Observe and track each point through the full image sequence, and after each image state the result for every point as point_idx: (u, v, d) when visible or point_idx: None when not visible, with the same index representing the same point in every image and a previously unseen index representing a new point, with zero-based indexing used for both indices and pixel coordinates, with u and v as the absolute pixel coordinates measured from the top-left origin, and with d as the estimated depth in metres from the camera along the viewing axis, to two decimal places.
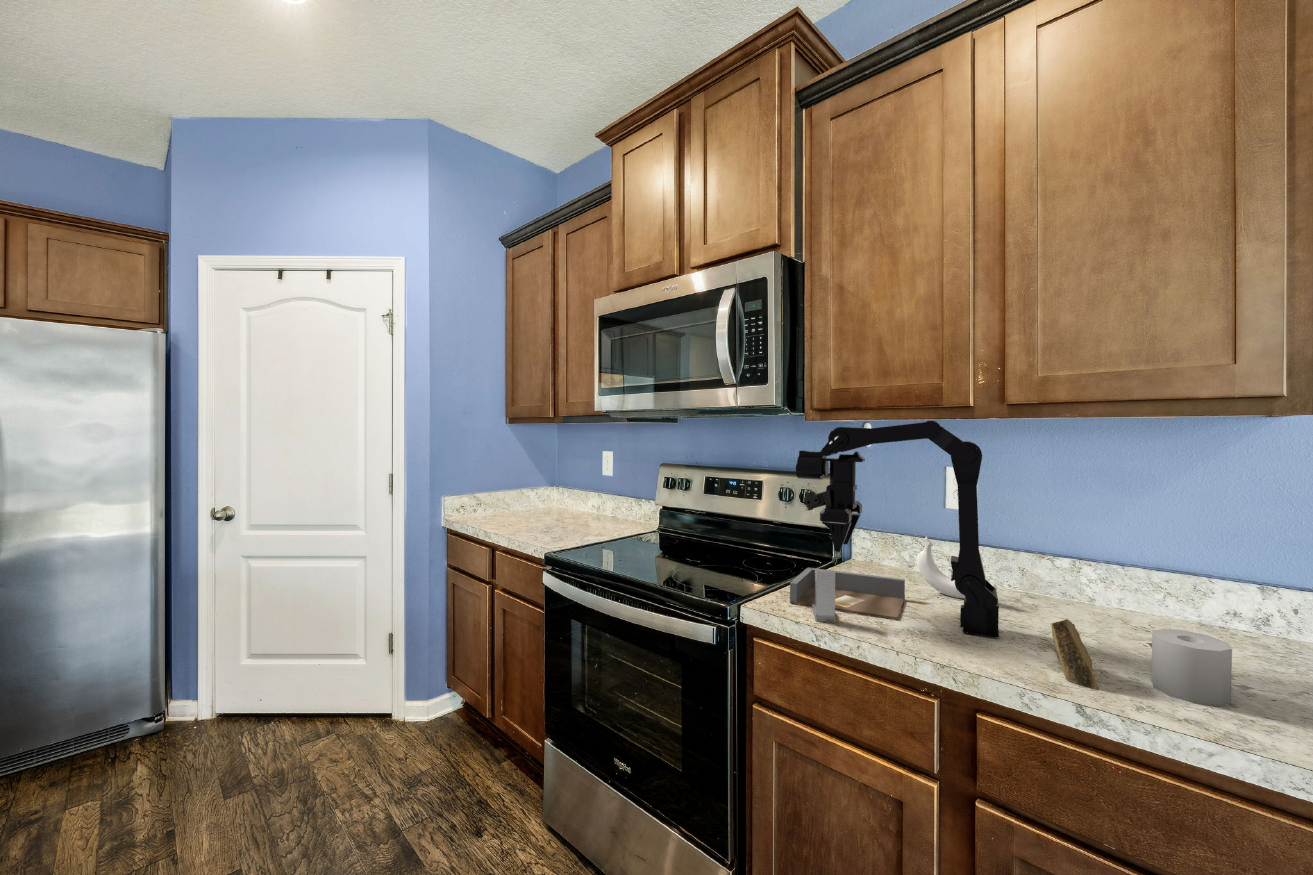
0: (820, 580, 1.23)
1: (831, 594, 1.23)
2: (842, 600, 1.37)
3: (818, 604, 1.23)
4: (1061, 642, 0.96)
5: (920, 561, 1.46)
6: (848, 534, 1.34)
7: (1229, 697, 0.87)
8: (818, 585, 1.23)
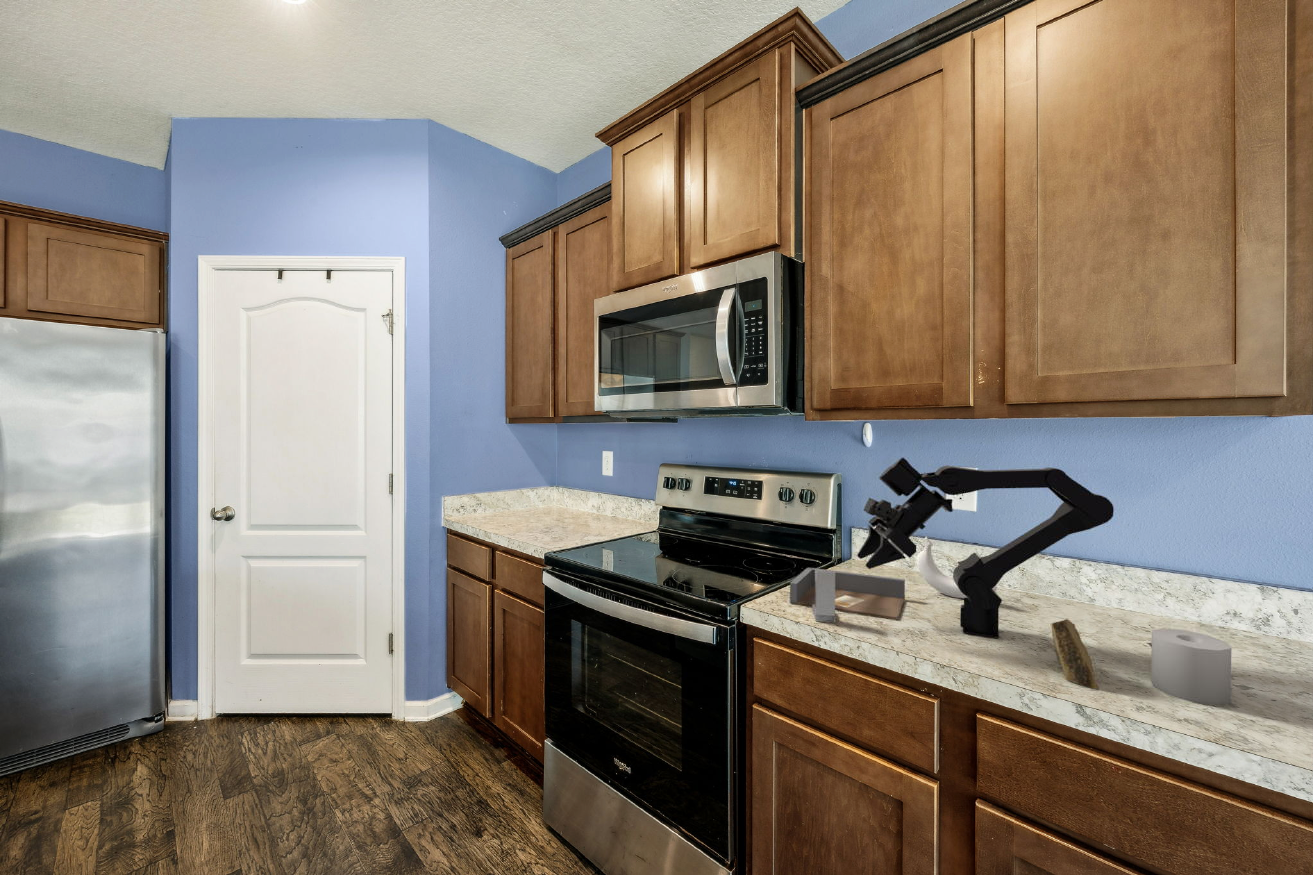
0: (820, 580, 1.23)
1: (831, 594, 1.23)
2: (842, 600, 1.37)
3: (818, 604, 1.23)
4: (1061, 642, 0.96)
5: (920, 561, 1.46)
6: (868, 552, 1.27)
7: (1228, 696, 0.87)
8: (818, 585, 1.23)
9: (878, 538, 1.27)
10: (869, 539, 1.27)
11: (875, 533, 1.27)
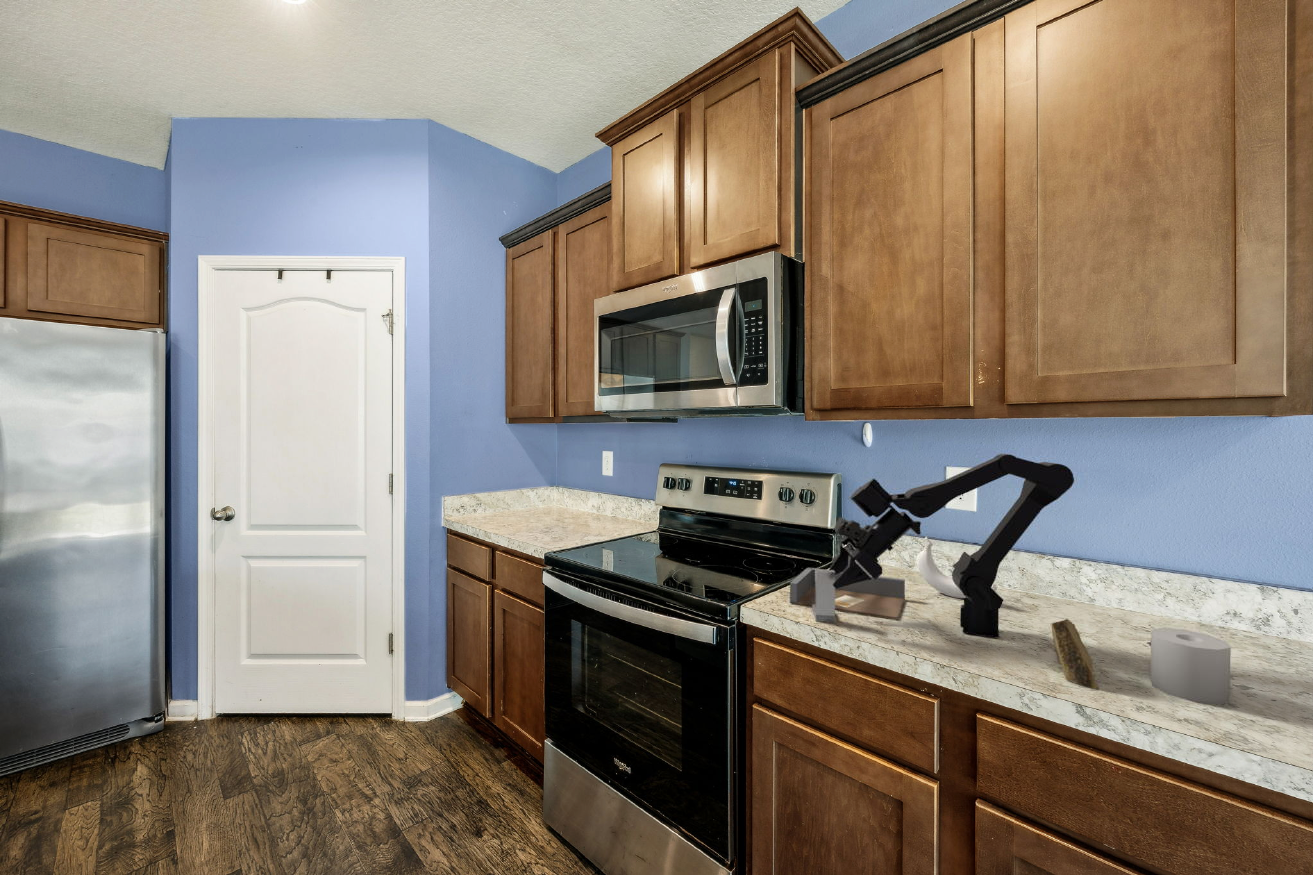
0: (820, 580, 1.23)
1: (831, 594, 1.23)
2: (842, 600, 1.37)
3: (818, 604, 1.23)
4: (1061, 642, 0.96)
5: (920, 561, 1.46)
6: (838, 570, 1.28)
7: (1227, 696, 0.88)
8: (818, 585, 1.23)
9: (848, 556, 1.28)
10: (839, 558, 1.28)
11: (845, 552, 1.28)
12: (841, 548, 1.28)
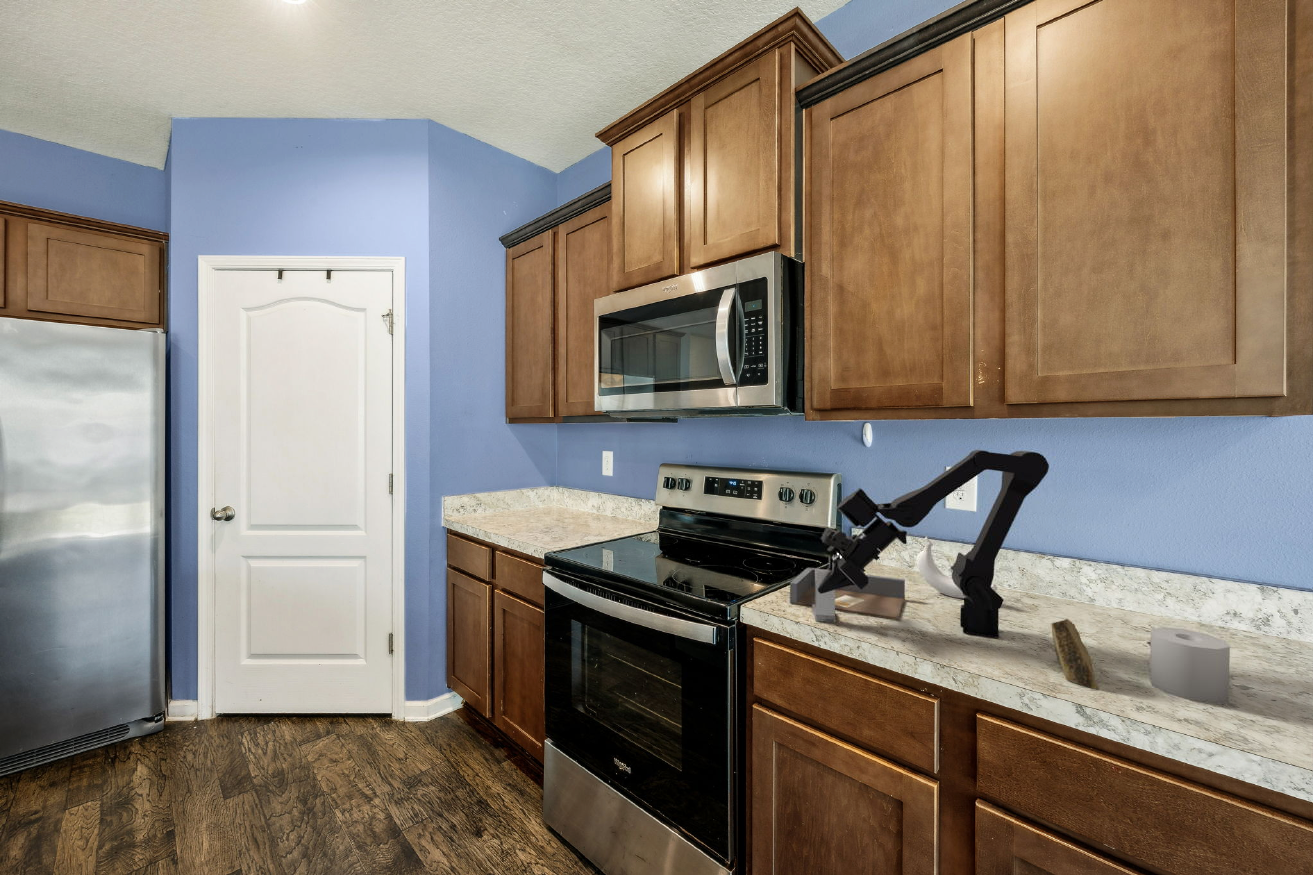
0: (820, 580, 1.23)
1: (831, 594, 1.23)
2: (842, 600, 1.37)
3: (818, 604, 1.23)
4: (1061, 642, 0.96)
5: (920, 561, 1.46)
6: None
7: (1227, 695, 0.88)
8: (818, 585, 1.23)
9: None
10: None
11: None
12: (831, 561, 1.25)
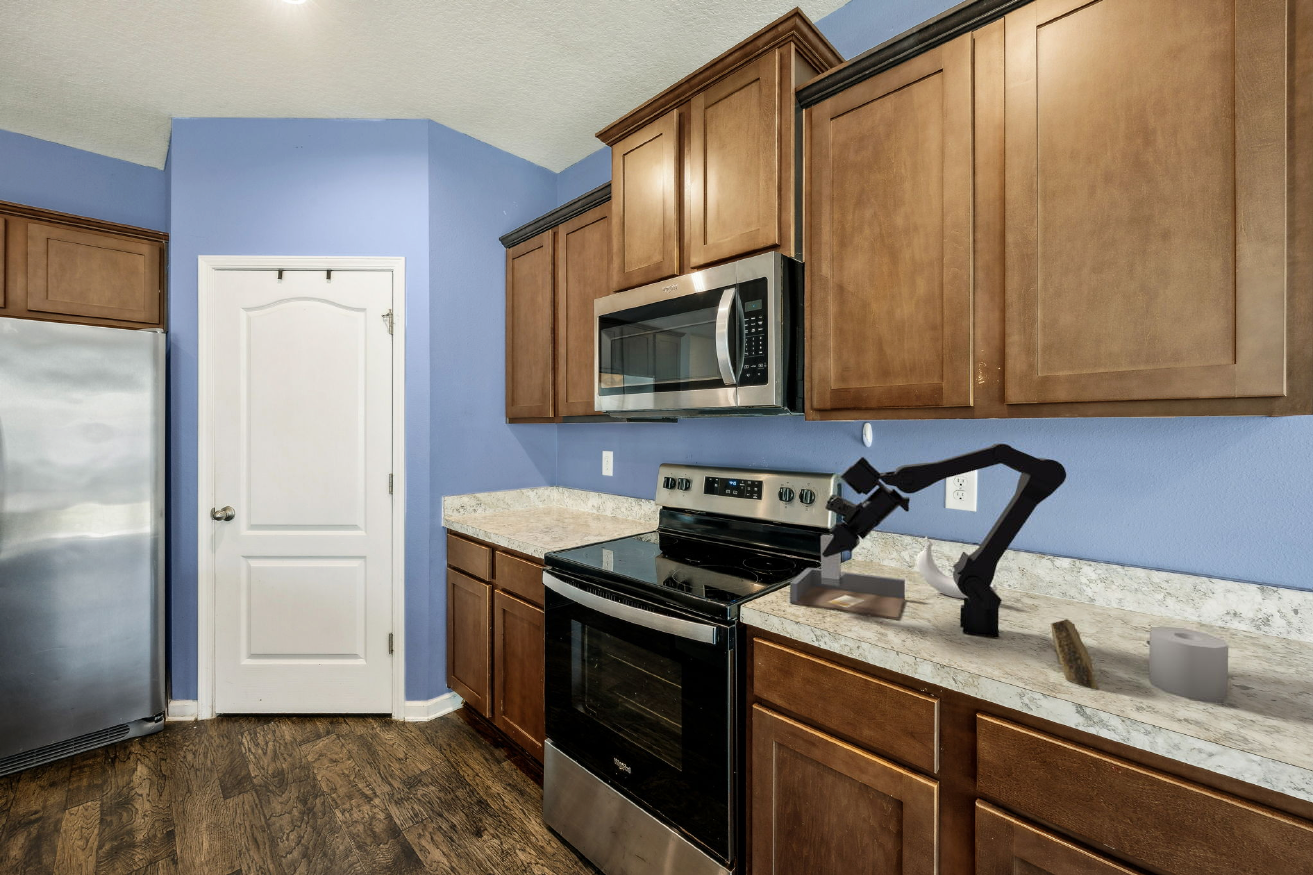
0: (824, 544, 1.29)
1: (835, 558, 1.28)
2: (842, 600, 1.37)
3: (823, 568, 1.29)
4: (1061, 642, 0.96)
5: (920, 561, 1.46)
6: None
7: (1225, 694, 0.88)
8: (823, 549, 1.29)
9: None
10: None
11: None
12: None
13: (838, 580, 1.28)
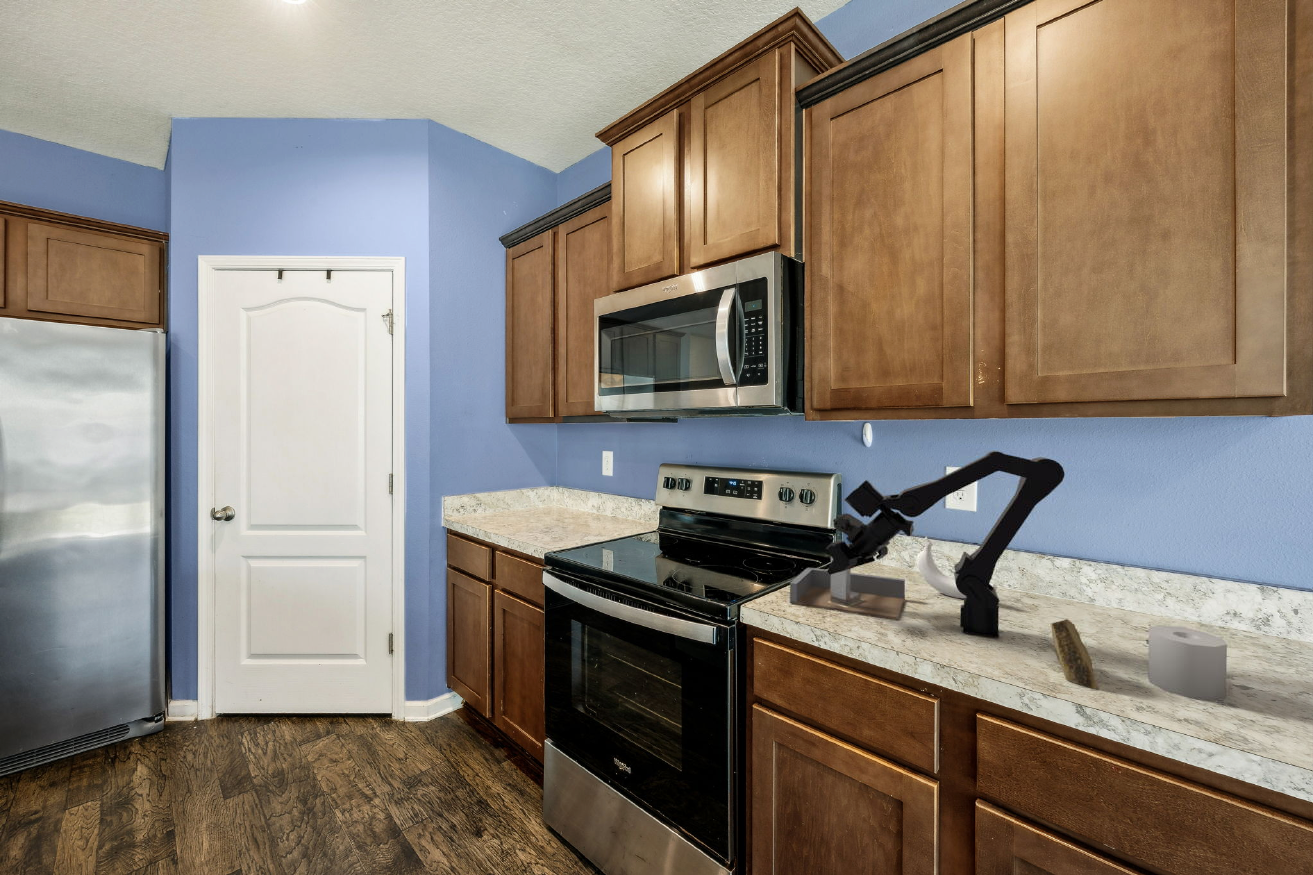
0: None
1: (842, 579, 1.33)
2: None
3: (832, 587, 1.35)
4: (1061, 642, 0.96)
5: (920, 561, 1.46)
6: None
7: (1224, 692, 0.89)
8: None
9: None
10: None
11: None
12: None
13: (845, 600, 1.32)
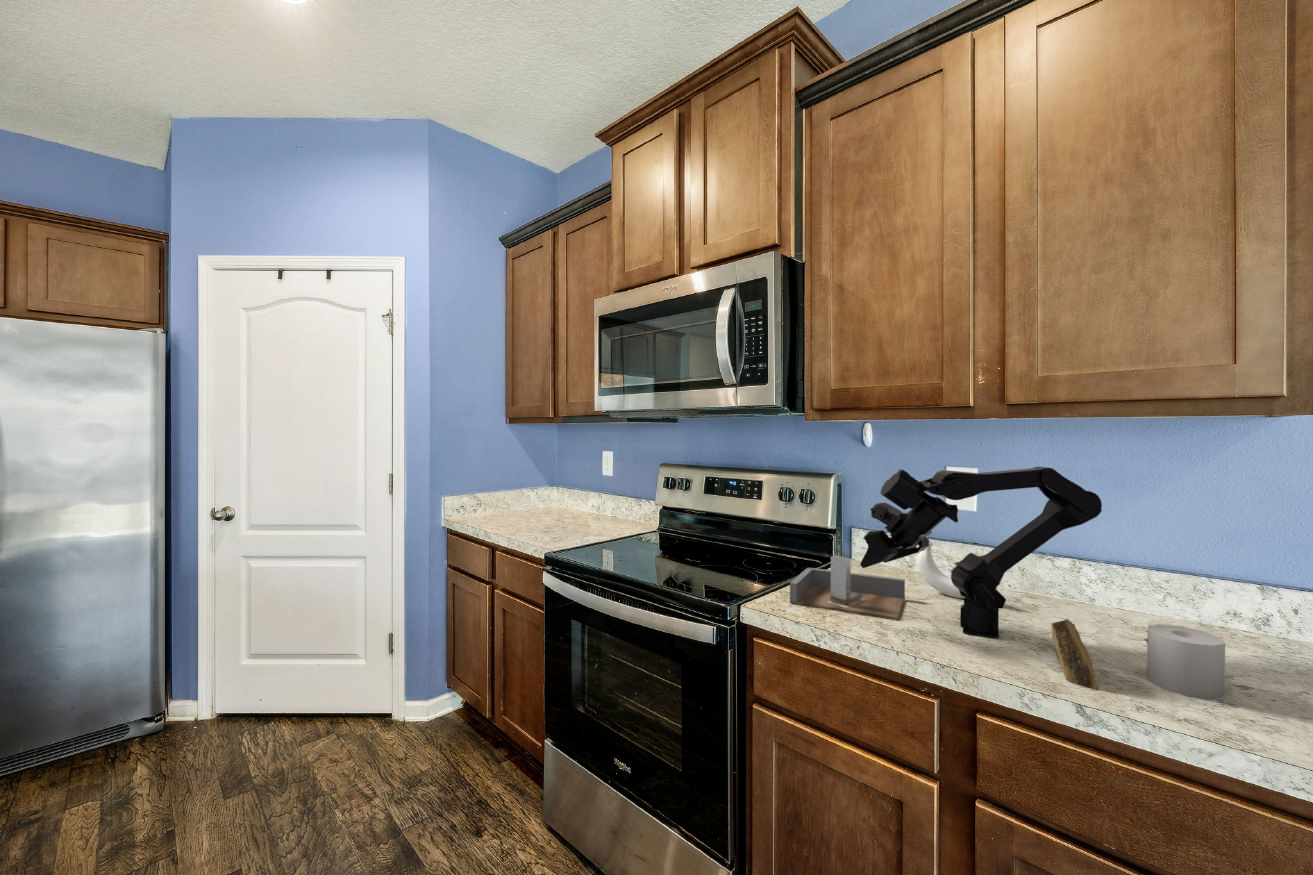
0: (834, 565, 1.34)
1: (842, 579, 1.33)
2: None
3: (832, 587, 1.35)
4: (1061, 642, 0.96)
5: (920, 561, 1.46)
6: (892, 557, 1.29)
7: (1222, 691, 0.89)
8: (832, 569, 1.35)
9: None
10: None
11: None
12: None
13: (845, 600, 1.32)
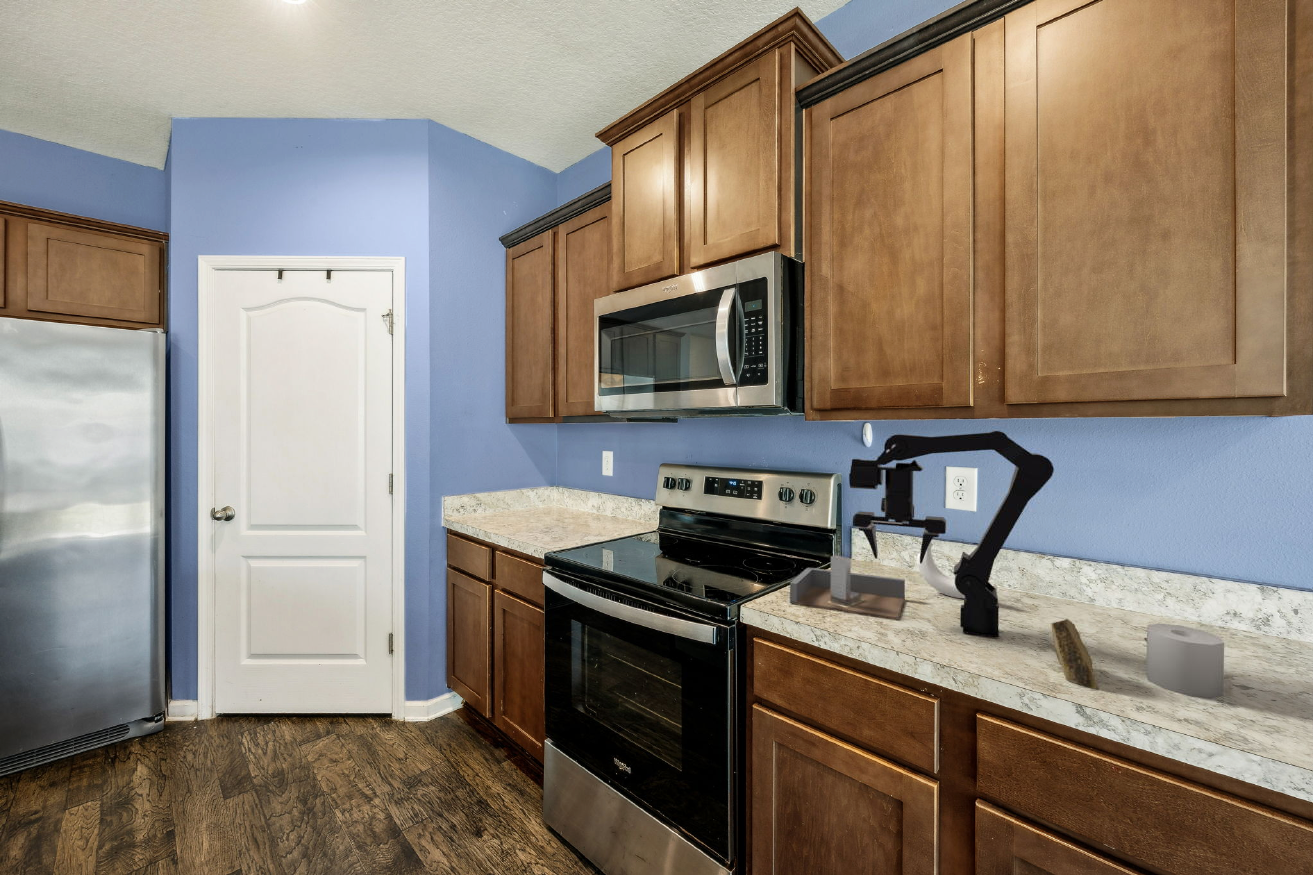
0: (834, 565, 1.34)
1: (842, 579, 1.33)
2: None
3: (832, 587, 1.35)
4: (1061, 642, 0.96)
5: None
6: None
7: (1221, 690, 0.90)
8: (832, 569, 1.35)
9: None
10: None
11: (924, 532, 1.23)
12: None
13: (845, 600, 1.32)
